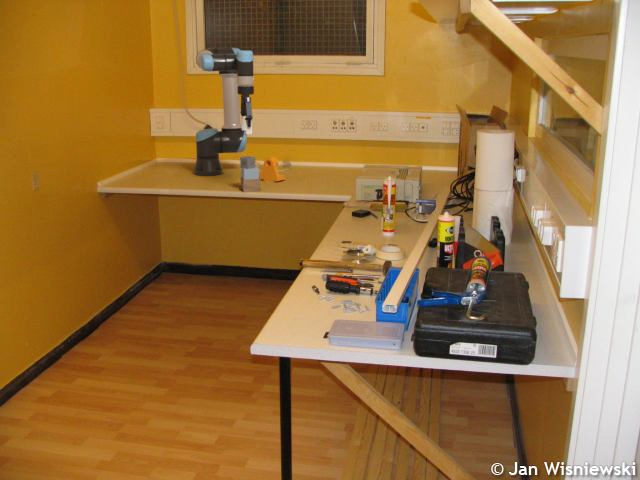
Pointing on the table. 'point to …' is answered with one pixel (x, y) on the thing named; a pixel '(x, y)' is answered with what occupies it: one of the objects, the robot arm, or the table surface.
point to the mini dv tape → (425, 206)
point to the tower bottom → (250, 185)
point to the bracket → (271, 170)
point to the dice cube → (247, 162)
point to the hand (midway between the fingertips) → (246, 132)
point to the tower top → (250, 173)
